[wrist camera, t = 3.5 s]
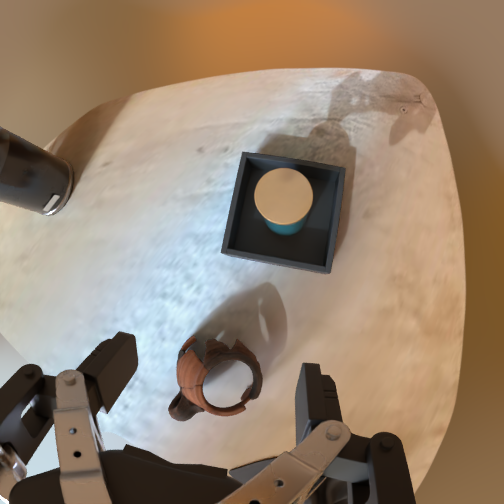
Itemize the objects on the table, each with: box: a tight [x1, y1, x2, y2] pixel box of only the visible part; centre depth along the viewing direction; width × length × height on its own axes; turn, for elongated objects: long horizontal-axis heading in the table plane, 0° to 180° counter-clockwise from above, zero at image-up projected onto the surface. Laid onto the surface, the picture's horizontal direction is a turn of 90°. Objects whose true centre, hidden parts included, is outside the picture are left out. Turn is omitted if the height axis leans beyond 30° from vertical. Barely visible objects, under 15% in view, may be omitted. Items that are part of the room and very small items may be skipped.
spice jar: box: [254, 168, 313, 237], centre depth 29 cm, size 5×5×8 cm
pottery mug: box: [168, 336, 263, 421], centre depth 30 cm, size 12×10×8 cm
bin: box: [221, 152, 346, 274], centre depth 31 cm, size 11×11×4 cm
